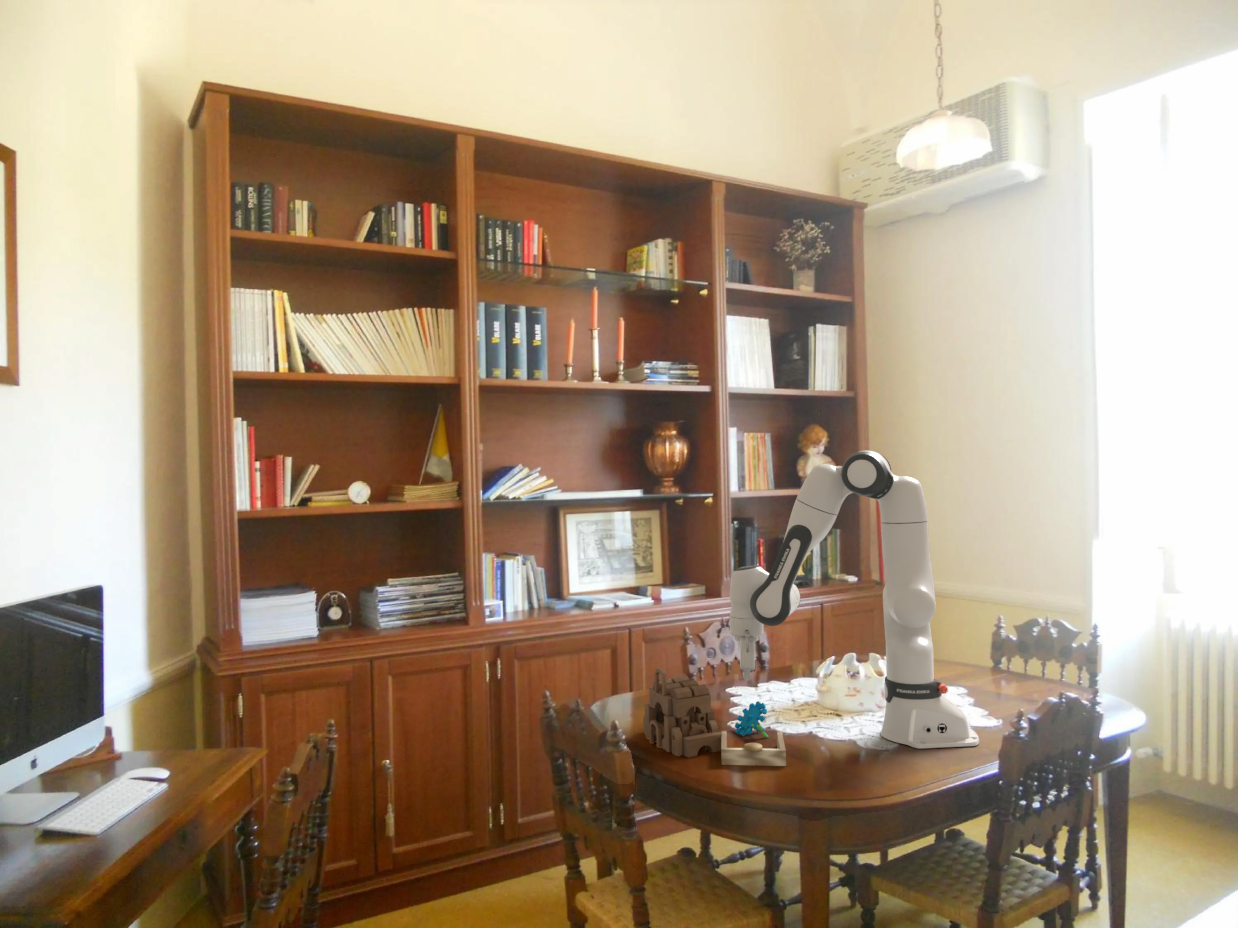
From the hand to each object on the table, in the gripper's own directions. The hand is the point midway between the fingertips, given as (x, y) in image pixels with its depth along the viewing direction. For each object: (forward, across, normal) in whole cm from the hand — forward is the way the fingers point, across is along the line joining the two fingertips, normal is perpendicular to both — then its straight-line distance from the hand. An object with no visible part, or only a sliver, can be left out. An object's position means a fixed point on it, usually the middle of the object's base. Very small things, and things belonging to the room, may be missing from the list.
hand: (746, 679), depth 230 cm
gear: (+11, -11, -1) cm, 16 cm away
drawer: (+11, -27, -1) cm, 29 cm away
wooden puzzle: (+12, -18, +17) cm, 27 cm away
